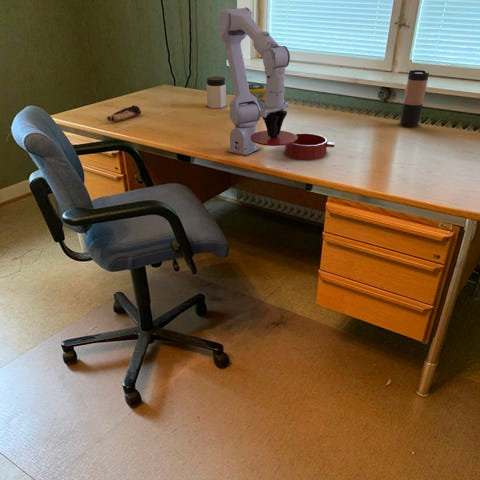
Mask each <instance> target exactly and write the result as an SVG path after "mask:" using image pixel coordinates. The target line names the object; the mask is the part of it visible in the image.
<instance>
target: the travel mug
mask: <svg viewBox="0 0 480 480" xmlns="http://www.w3.org/2000/svg"><path fill="white" fill-rule="evenodd" d="M407 75H408V76H407V81H406V86H405V92H404V96H403V101H402V107H401V114H400V121H399V126H401V127H403V128H412V129H413V128H416V127H418V125H419V122H420V118H421V114H422V109H423V106H424V100H425V96H426V95H425V94H426V89H427V85H428V80H429V76H430V72H426V71H425V70H422V69H413V70H409V71H408V74H407Z"/></svg>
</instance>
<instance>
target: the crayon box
mask: <svg viewBox="0 0 480 480" xmlns="http://www.w3.org/2000/svg"><path fill="white" fill-rule="evenodd" d="M248 86H249V92H250V94H252V95H253V96H255V97H256V98H257V102H258V105H259V107H260V109H263V107H264V106H265V105H266V87H265V83H251V84H250V83H248Z"/></svg>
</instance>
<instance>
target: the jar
mask: <svg viewBox="0 0 480 480" xmlns="http://www.w3.org/2000/svg"><path fill="white" fill-rule="evenodd" d="M205 87H206V105H207V107H209V108H210V109H222V108H225V107H227V85H226V78H225V77H224V76H219V75H218V76H217V75H216V76H215V75H214V76H208V77H207V78H206V86H205Z"/></svg>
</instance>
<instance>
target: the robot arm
mask: <svg viewBox="0 0 480 480" xmlns="http://www.w3.org/2000/svg"><path fill="white" fill-rule="evenodd" d="M253 13H254V12H252V11H251V9H250V8H249V7H247V6H245V7H240V8H222V9H221V10H220V12H219V15H218V20H217V22H218V23H217V24H218V29H219V34H220V37H221V41H223V42H224V48H225V52H226V57H227V63H228V67H229V72H230V77H231V78H230V79H231V82H232V88H233V92H234V97H233V98H232V100H231V101H230V103H229V117H230V121H231V123H232V125H234V128H232V130H231V131H230V133H229V149H228V151H227V152H229V153H233V154H238V155H242V156H248V155H250V154H251V153H254V152H256V151H258V150H260V149H261V146H257V145H256V143H254V142H253V141H251V139H250V138H251V135H252V134H254V133H256V132H257V131H256V129H257V127H256V126H257V125H258V122H259V121H260V120H261V118H262V119H263V122H264V124H265V128H266V131H267V133H268V136H269V137H275V132H276V125H278V135H279V133H280V131H282V126H283V123H284V120H285V119H286V116H287V115H288V111H287V109H289V107H290V101H287V100H285V85H286V68H287V67H288V66H289V65H290V62H291V55H290V51H289V49H288V47H287V46H286V45H279V44H278V43H277V41H276V40H275V39H274V38H273V37H272V35H270V32H269V31H263V30H262V29H260V27H259V26H258V24H257V23H256V22H255V20H254V14H253ZM247 36H248V38H250V39H251V40H252V46H253V49H255V51H256V52H257V53H258V54H259V55H260V57H262V63H263V67H264V74H265V77H266V81H265V82H266V83H265V89H266V105H265V106H264V107H263V109H260V107H259V105H258V102H257V98H256V97H255V96H253V95H252V94H250V92H249V81H248V77H247V70H246V67H245V66H246V65H245V62H244V55H243V49H242V45H241V44H242V42H243V40H244V39H246V37H247Z"/></svg>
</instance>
